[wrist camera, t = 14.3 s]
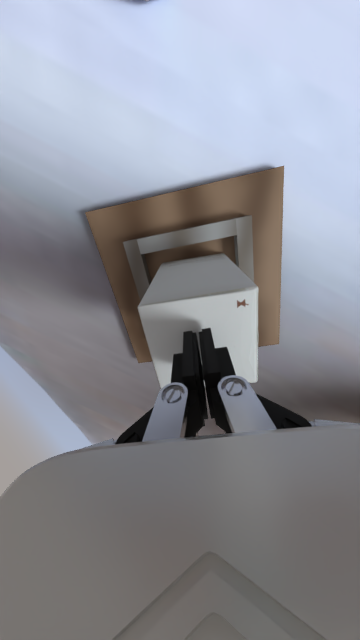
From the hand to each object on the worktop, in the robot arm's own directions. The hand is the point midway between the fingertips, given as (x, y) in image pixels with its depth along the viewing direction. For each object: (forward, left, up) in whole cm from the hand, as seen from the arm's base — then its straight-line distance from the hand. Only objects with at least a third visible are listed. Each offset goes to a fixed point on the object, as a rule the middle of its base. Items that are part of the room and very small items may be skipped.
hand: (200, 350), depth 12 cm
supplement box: (0, 0, -13) cm, 13 cm away
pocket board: (0, 0, -14) cm, 14 cm away
